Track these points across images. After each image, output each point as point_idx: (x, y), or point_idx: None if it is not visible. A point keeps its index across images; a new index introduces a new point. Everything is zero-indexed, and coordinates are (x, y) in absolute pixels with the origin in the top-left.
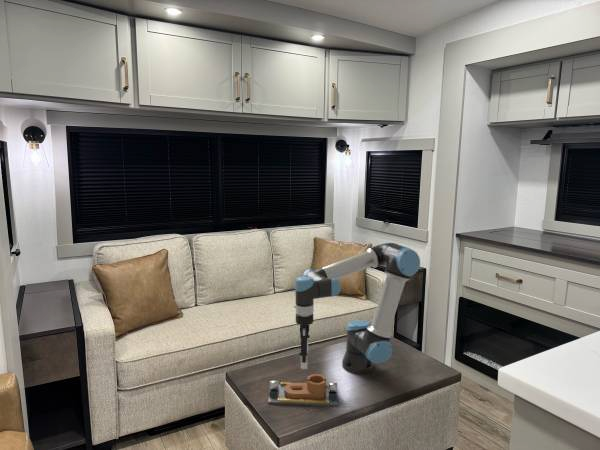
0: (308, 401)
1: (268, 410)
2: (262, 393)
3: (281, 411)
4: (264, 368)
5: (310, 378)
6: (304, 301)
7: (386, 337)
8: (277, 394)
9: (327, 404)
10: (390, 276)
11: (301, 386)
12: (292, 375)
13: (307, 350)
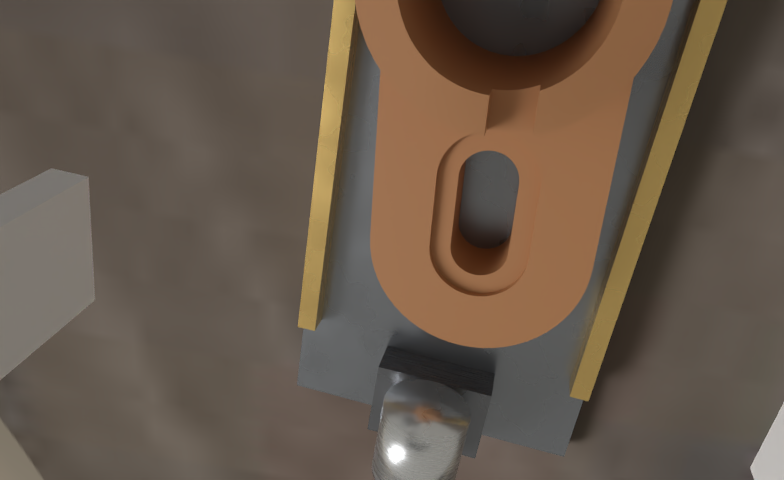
0: (690, 102)
1: (669, 457)
2: None
3: (716, 364)
4: (38, 380)
5: (441, 70)
6: None
7: None
8: (488, 379)
9: None
10: None
11: (441, 158)
12: (123, 166)
13: (49, 217)
